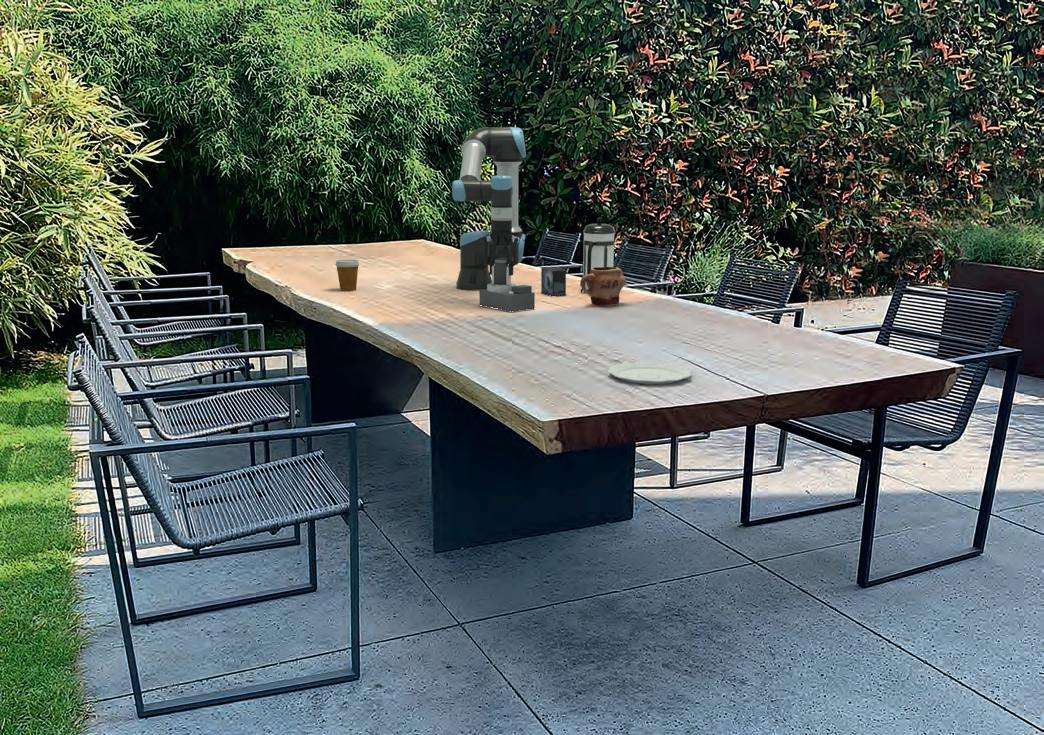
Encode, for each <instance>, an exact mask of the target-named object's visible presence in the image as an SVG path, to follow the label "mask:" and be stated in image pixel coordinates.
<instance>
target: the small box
mask: <svg viewBox="0 0 1044 735" xmlns="http://www.w3.org/2000/svg"><path fill="white" fill-rule="evenodd" d="M540 269H541V270H540V271H541V272H540V273H541V274H540V275H541V276H540V278H541V279H540V280H541V284H540V285H541V286H540V289H541V290H540V292H541V294H543V293H544V295H546V294H548V295H547V296H549V295H551V296H550V297H552V296H556V297H565V296H567V269H566V268H565V269H564V268H561V267H558V266H548V267H547V266H546V267H541V268H540Z"/></svg>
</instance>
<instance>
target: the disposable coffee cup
mask: <svg viewBox="0 0 1044 735" xmlns="http://www.w3.org/2000/svg"><path fill="white" fill-rule="evenodd" d="M359 266H360V263H359V260H357V259H337V260H336V261H335V267H336V270H337V271H336V272H337V276H338V283H339V290H340V291H342V292H354V291H355V292H356V291H357V285H358V284H357V283H358V274H359Z"/></svg>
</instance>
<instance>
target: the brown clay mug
mask: <svg viewBox="0 0 1044 735" xmlns="http://www.w3.org/2000/svg"><path fill="white" fill-rule="evenodd" d="M586 280H587V287H588V290H587V289H585V288H584V282H585V281H586ZM626 281H627V279H626V278H625V275H624V272H623V270H622V268H619V267H618V266H617V267H614V266H613V267H597V268H592V269H591V270H590V274H587V275H584V276H583V275H582V277H581V279H580V281H579V282H580V284H579V286H580V288H581V289H583V291H582V292H585V293H584V294H586V295H587V296H589V298H590V302H591V304H592V305H593V304H594V306H599V307H606V306H607V307H608V306H617V305H619V304H620V292H621V291H622V289H623V288H624V287H625V285H626Z"/></svg>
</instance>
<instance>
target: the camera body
mask: <svg viewBox="0 0 1044 735" xmlns="http://www.w3.org/2000/svg"><path fill="white" fill-rule="evenodd" d="M532 288H533V287H532V285H527V284H521V285H520V284H519V285H516V284H515V283H512V282H511V284H510V285H508V286H495V284H492V283H491V284H487V289H482V290H478V292H479V306H480V305H482V306H487V307H493V308H498V309H502V310H506V311H505V312H507V311H511V312H510V313H513V312H512V311H518V312H520V311H519V310H525V311H527V310H526V309H532V310H535V309H536V308H535V307H536V306H535V304H536V303H535V302H536V301H535V299H536V298H535V297H536V294H535V292H533V291H532V290H533V289H532ZM482 306H481V307H482ZM487 307H486V308H487ZM534 308H535V309H534ZM502 310H501V311H502Z"/></svg>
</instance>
